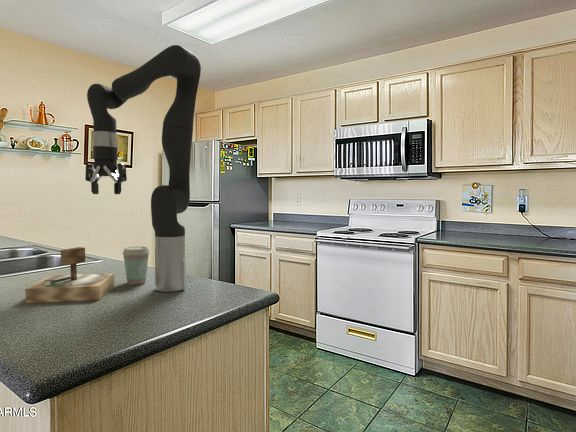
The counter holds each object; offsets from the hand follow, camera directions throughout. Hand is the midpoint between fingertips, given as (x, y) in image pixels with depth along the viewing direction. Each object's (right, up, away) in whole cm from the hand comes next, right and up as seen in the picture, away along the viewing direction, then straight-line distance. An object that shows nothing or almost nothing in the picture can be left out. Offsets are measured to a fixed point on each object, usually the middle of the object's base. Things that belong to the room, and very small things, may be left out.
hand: (106, 194), depth 128 cm
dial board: (-3, -31, -14) cm, 34 cm away
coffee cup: (+10, -31, 0) cm, 32 cm away
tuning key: (-4, -27, -16) cm, 32 cm away
